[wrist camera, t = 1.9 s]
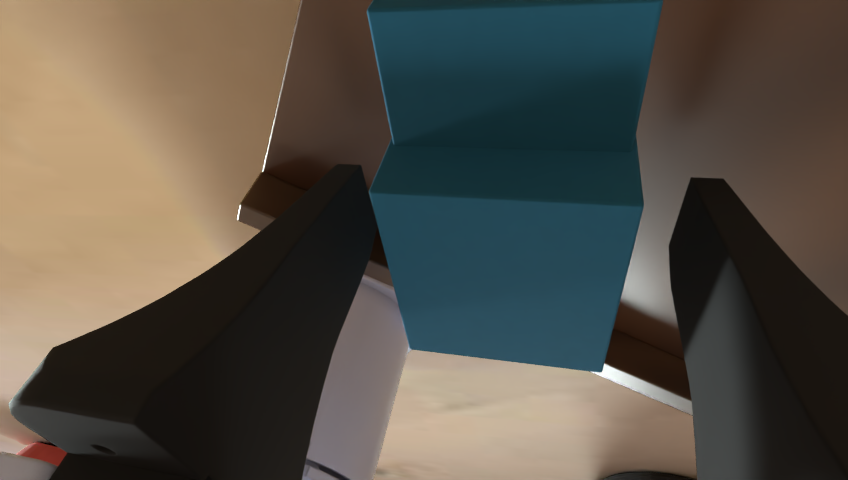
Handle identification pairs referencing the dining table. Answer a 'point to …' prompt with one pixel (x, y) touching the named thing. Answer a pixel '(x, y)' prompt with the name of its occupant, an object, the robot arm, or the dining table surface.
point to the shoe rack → (656, 140)
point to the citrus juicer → (43, 453)
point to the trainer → (511, 171)
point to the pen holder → (645, 476)
